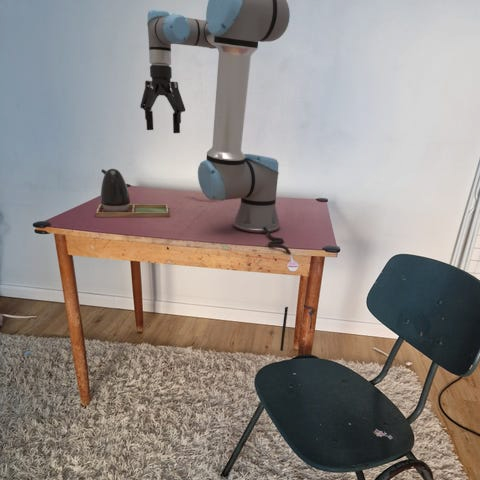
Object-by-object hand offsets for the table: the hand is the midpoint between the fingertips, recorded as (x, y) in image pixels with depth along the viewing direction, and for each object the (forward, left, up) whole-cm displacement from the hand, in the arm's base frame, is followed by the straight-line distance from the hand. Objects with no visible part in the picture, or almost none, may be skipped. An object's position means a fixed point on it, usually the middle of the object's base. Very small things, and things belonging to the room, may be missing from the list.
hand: (163, 131), depth 157 cm
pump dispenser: (-15, +18, -27) cm, 36 cm away
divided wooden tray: (-15, +12, -26) cm, 33 cm away
